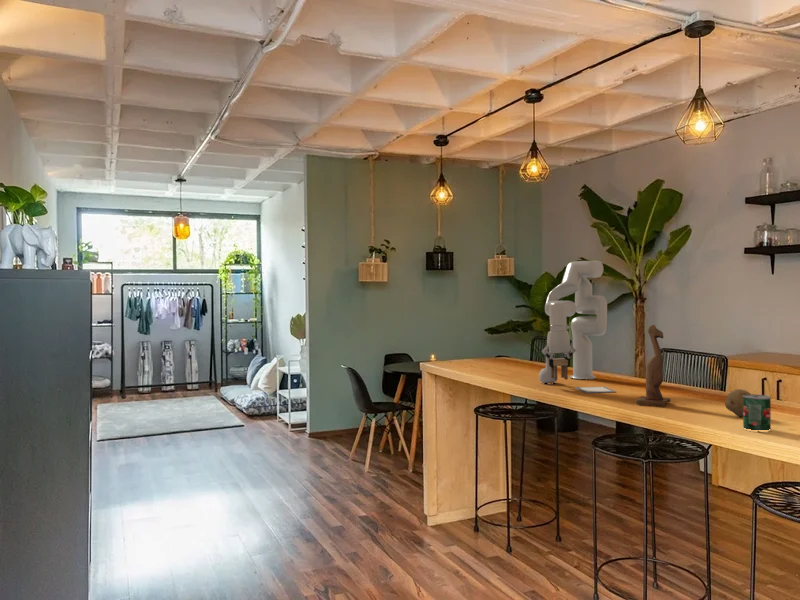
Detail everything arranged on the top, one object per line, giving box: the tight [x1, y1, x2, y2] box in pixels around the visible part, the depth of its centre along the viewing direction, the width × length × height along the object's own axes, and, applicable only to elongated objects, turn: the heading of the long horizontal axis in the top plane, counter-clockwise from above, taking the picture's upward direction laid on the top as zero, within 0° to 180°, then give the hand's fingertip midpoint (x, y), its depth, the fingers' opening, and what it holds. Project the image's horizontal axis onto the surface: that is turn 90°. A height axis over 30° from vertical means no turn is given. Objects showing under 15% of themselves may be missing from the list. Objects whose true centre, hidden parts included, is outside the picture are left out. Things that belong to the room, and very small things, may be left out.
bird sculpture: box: [635, 324, 672, 408], centre depth 254 cm, size 11×12×32 cm
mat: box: [574, 386, 617, 394], centre depth 288 cm, size 14×14×1 cm
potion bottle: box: [538, 351, 558, 385], centre depth 310 cm, size 9×9×18 cm
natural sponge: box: [724, 388, 751, 417], centre depth 228 cm, size 9×9×10 cm
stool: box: [550, 357, 569, 381], centre depth 294 cm, size 6×6×9 cm
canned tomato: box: [742, 393, 772, 430], centre depth 208 cm, size 8×8×11 cm
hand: (559, 366), depth 294 cm, fingers closed on stool, 6 cm apart
